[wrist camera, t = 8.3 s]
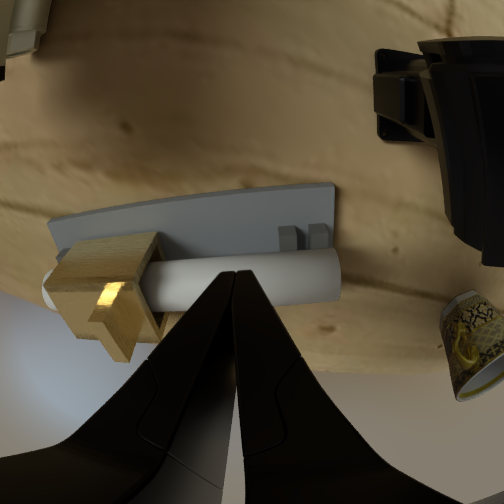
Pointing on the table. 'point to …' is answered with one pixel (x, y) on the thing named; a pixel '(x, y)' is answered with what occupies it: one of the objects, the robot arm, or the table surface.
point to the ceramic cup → (473, 344)
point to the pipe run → (224, 242)
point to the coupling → (108, 292)
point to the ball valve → (21, 28)
